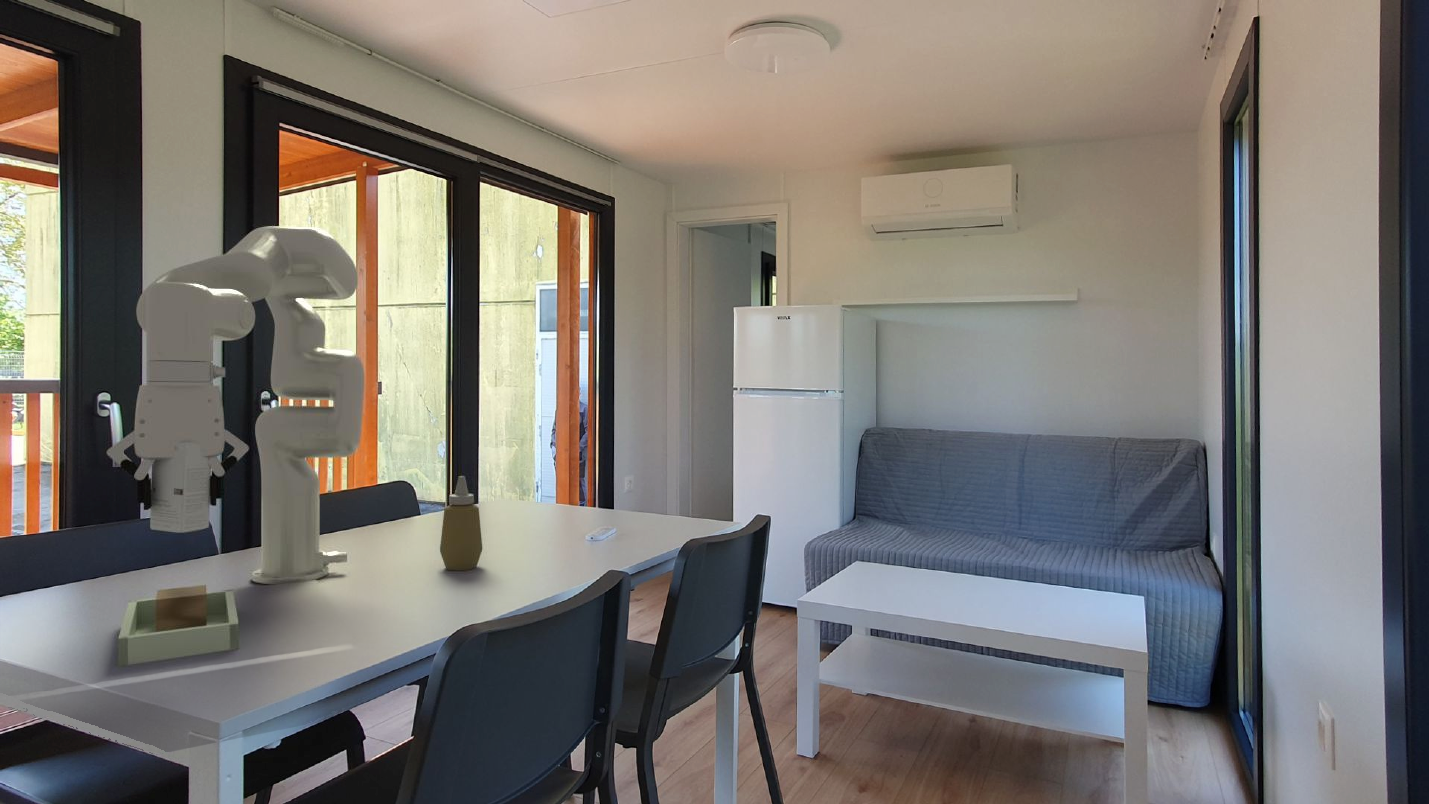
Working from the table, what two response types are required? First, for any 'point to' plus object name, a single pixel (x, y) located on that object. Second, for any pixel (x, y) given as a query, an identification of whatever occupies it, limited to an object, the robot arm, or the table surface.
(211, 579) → the table surface
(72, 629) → the table surface
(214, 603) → the tote
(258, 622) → the table surface
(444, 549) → the squeeze bottle
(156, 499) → the skincare box
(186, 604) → the walnut block
